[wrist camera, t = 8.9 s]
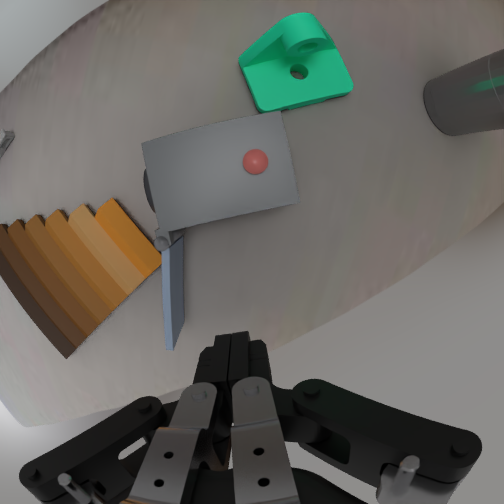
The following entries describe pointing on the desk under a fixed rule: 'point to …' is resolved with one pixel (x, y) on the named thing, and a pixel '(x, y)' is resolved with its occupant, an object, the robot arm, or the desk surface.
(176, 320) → the door
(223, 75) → the desk surface
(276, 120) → the housing
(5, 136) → the grey ringed bracket
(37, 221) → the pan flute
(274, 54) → the camera mount
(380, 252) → the desk surface
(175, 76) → the desk surface
